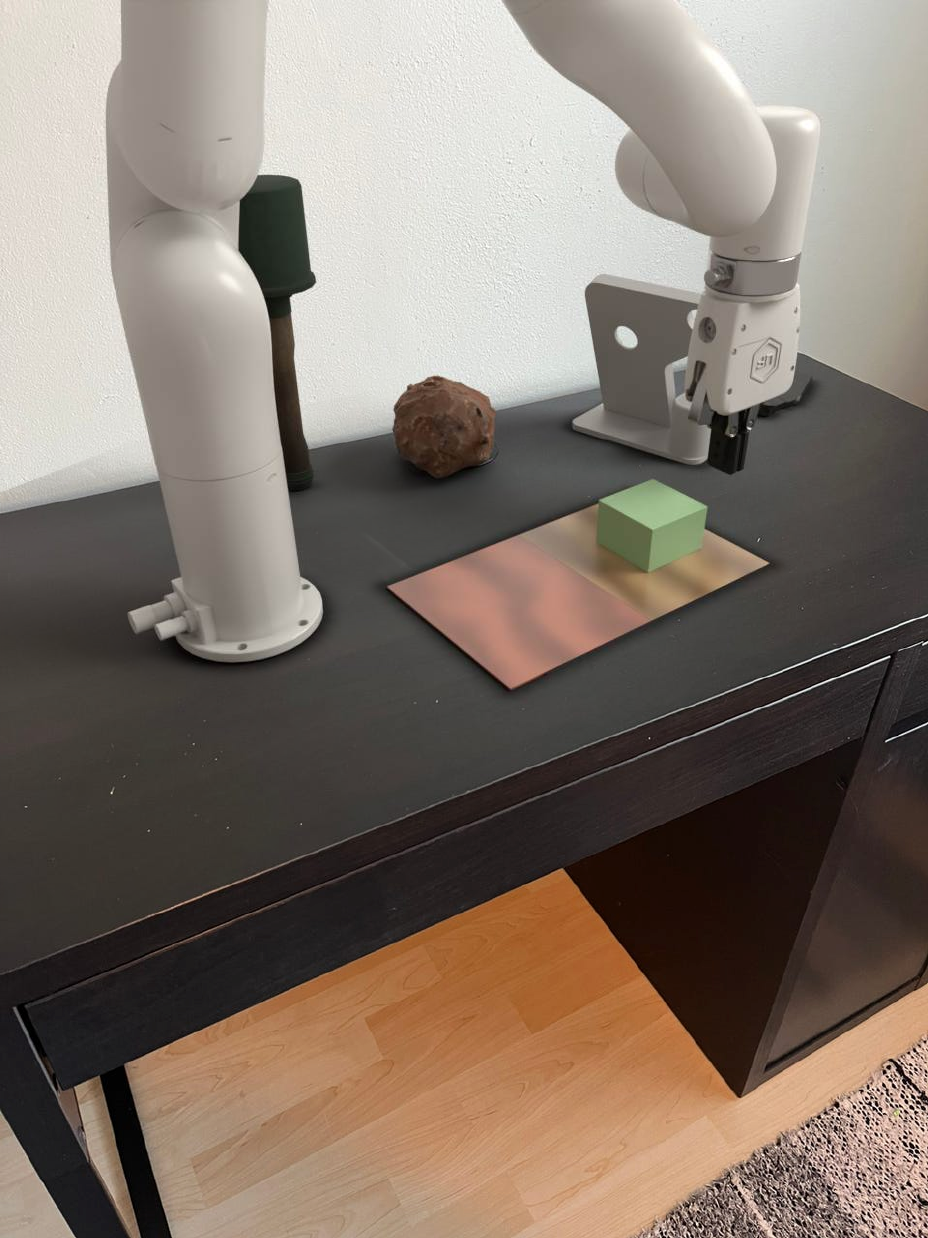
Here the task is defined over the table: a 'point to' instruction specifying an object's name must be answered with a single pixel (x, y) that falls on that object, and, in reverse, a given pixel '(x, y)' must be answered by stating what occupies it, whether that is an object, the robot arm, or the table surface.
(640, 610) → the plate
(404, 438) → the decorative rock
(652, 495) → the green block
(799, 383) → the dark sector wedge
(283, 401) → the potato masher grenade
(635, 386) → the phone holder
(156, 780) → the table surface
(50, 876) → the table surface
